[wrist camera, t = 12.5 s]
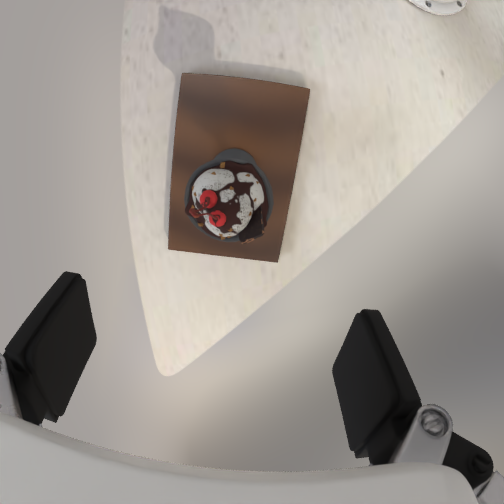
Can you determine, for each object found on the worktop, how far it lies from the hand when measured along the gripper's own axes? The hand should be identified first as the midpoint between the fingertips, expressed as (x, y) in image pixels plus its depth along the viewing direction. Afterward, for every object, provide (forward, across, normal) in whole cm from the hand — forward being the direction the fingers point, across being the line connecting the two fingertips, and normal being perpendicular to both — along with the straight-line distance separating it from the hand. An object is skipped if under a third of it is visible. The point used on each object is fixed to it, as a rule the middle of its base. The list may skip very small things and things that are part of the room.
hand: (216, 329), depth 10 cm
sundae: (+24, 0, +1) cm, 25 cm away
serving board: (+26, +1, +1) cm, 26 cm away
